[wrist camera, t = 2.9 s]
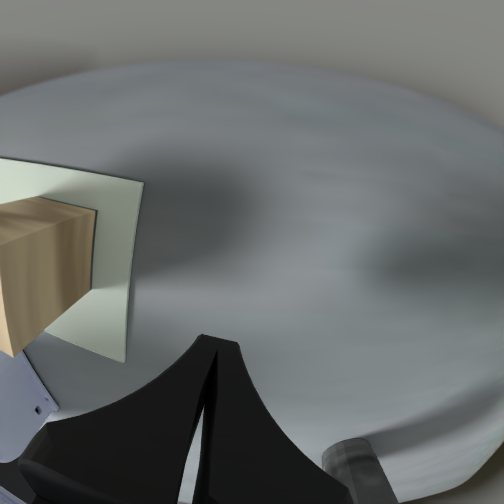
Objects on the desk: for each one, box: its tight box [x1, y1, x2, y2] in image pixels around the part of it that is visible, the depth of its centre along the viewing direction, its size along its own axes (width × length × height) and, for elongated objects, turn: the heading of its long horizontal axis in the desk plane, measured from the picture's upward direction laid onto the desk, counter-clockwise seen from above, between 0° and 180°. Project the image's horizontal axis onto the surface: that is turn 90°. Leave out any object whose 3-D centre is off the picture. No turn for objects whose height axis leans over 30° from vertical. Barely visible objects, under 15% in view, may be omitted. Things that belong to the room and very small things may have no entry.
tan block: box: [0, 196, 98, 358], centre depth 12 cm, size 5×5×8 cm
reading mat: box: [0, 158, 144, 363], centre depth 16 cm, size 16×12×1 cm
